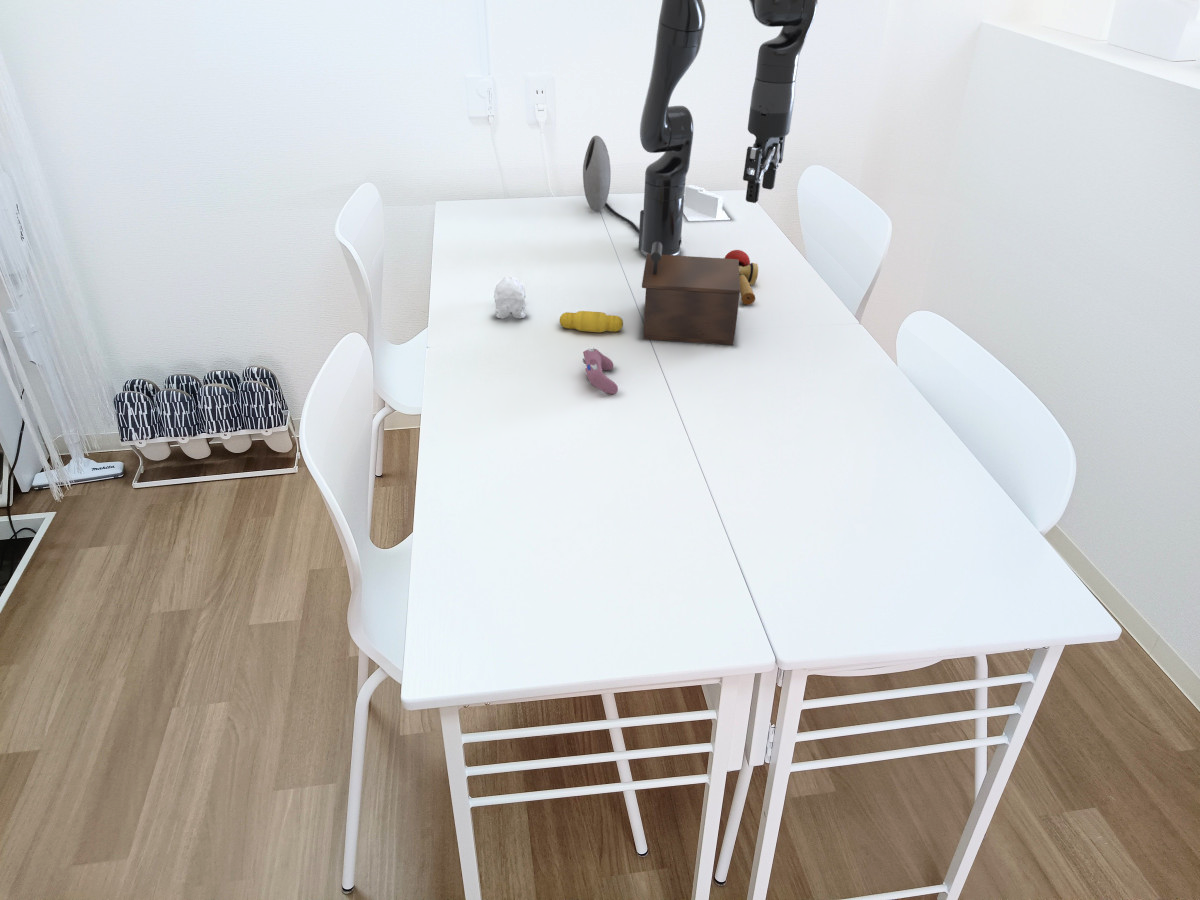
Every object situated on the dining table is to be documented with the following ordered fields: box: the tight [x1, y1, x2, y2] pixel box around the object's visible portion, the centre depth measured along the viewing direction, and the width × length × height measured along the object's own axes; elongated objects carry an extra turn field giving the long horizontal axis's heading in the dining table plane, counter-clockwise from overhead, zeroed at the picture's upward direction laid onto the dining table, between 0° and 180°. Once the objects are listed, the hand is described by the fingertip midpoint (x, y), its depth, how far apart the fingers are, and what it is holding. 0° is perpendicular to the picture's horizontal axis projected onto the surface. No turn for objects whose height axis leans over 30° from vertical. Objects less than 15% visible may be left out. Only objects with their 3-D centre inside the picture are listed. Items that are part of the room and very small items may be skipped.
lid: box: [641, 242, 741, 295], centre depth 169 cm, size 19×15×5 cm
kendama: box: [724, 249, 759, 306], centre depth 191 cm, size 8×6×18 cm
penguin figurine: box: [493, 276, 527, 319], centre depth 178 cm, size 6×8×12 cm
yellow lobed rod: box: [559, 310, 624, 333], centre depth 173 cm, size 13×4×4 cm, turn 84°
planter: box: [582, 135, 612, 213], centre depth 224 cm, size 18×7×19 cm, turn 3°
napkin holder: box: [683, 184, 731, 222], centre depth 229 cm, size 15×11×6 cm
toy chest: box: [642, 288, 741, 346], centre depth 174 cm, size 18×15×11 cm
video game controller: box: [582, 347, 619, 395], centre depth 156 cm, size 10×5×7 cm, turn 5°
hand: (759, 195), depth 164 cm, fingers open, 8 cm apart
